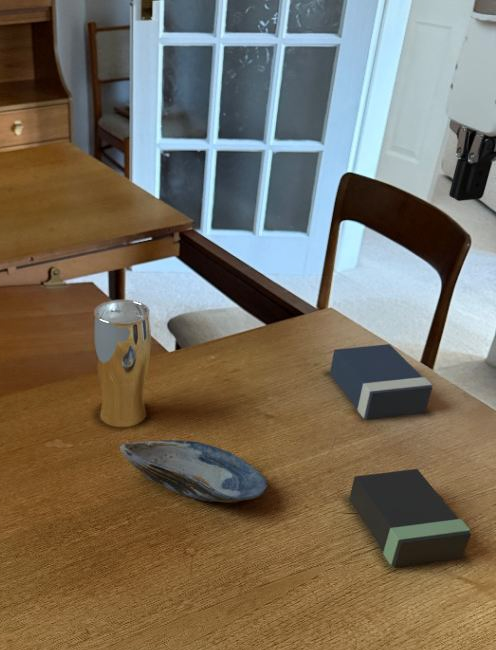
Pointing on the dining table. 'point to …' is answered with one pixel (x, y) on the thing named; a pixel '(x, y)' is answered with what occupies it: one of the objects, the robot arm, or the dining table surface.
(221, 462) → the seashell
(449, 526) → the dark grey rectangular block
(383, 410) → the navy blue box
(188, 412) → the dining table surface
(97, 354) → the beer glass
